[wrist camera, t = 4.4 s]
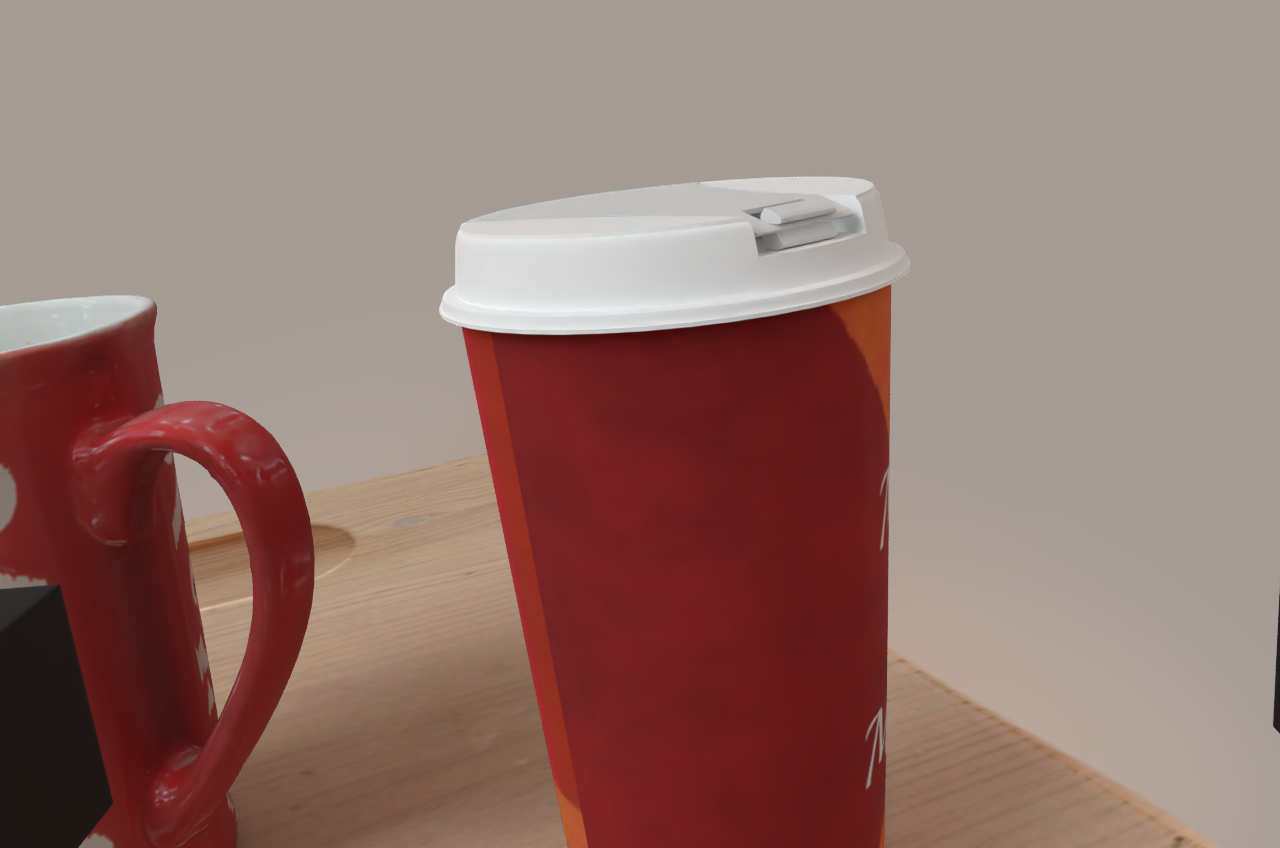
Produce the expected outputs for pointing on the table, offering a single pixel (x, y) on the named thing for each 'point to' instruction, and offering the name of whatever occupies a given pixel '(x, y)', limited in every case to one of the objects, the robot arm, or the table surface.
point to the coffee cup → (695, 499)
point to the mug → (145, 558)
